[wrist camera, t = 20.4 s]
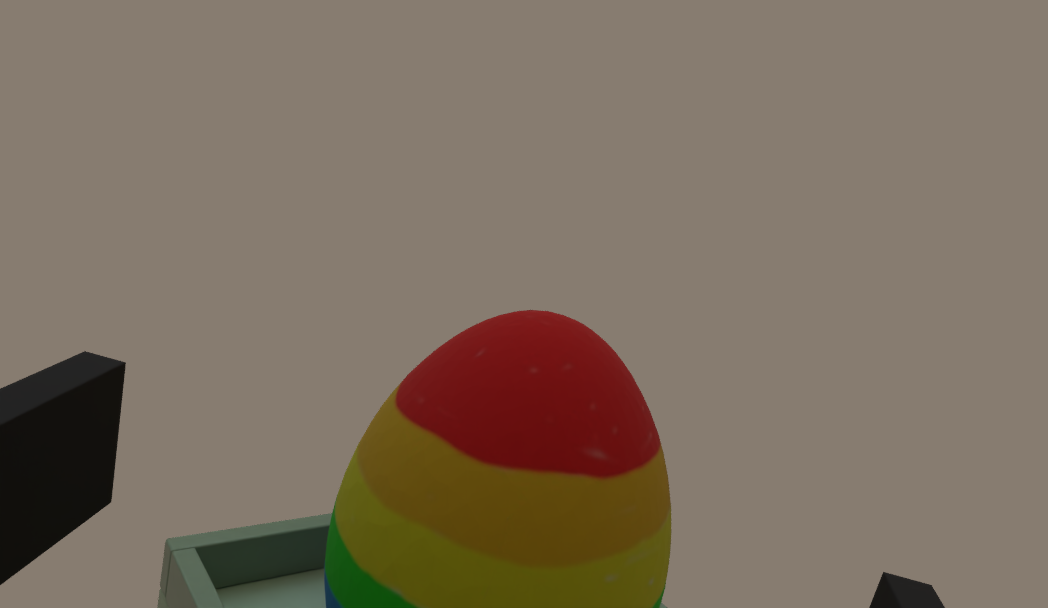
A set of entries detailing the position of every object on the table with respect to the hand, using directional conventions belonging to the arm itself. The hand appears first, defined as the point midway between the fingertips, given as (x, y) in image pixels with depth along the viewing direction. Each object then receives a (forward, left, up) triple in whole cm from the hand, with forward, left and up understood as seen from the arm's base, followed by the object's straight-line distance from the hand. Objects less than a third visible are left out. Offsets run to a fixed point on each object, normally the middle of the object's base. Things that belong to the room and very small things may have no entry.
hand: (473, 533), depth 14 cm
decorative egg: (+4, +4, -8) cm, 10 cm away
